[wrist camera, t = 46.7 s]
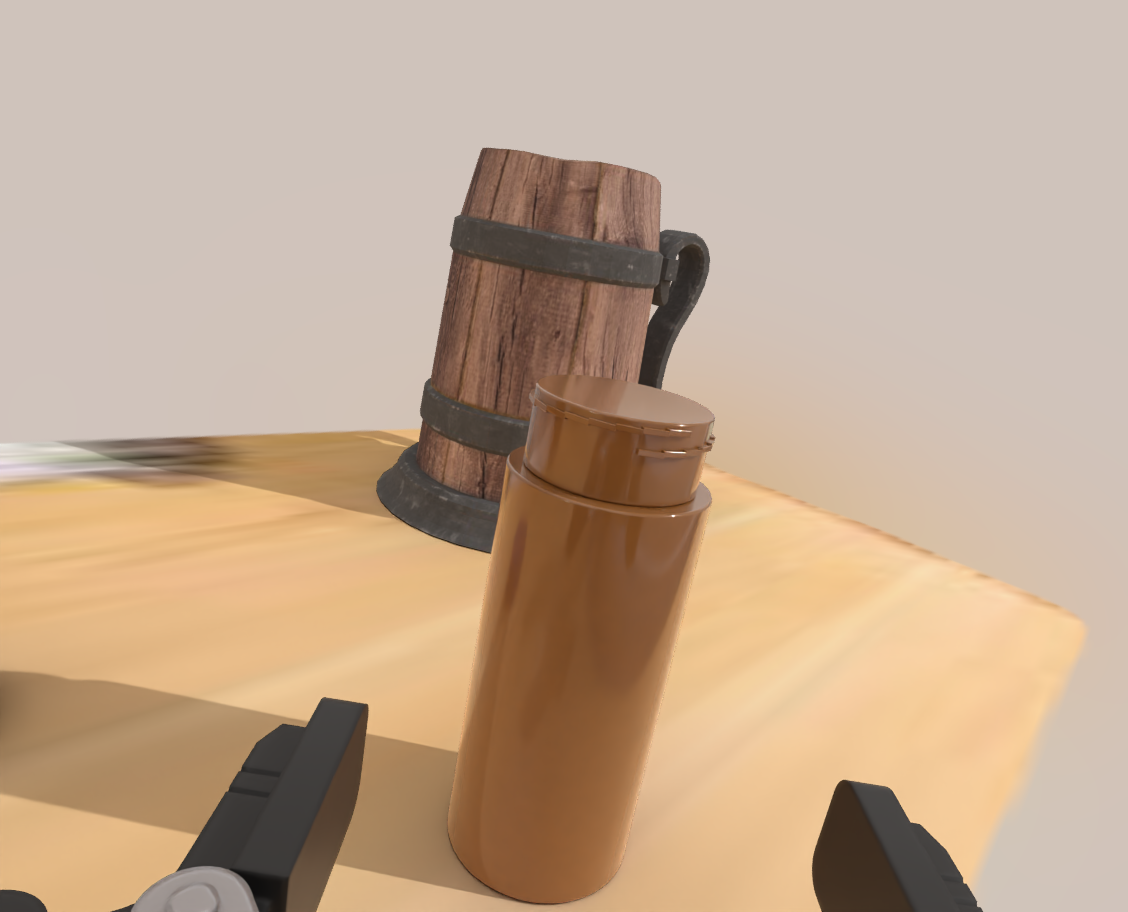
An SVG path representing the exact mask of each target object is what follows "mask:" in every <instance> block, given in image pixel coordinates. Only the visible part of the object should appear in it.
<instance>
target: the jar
mask: <svg viewBox="0 0 1128 912" xmlns="http://www.w3.org/2000/svg"><path fill="white" fill-rule="evenodd" d="M529 400H530V401H531V402H532V409H531V415H530V421H529V426H528V432H527V438H526V444H525V446H522V447H519V448H517V449H515V450H513V451H512V452H511V453H510V454H509V456H508V457H507V460H506V466H505V472H504V478H503V484H502V490H501V496H500V502H499V508H498V514H497V520H496V527H495V533H494V539H493V545H492V551H491V557H490V563H489V569H488V575H487V581H486V587H485V593H484V599H483V605H482V611H481V617H480V624H479V630H478V636H477V642H476V648H475V654H474V660H473V666H472V672H471V678H470V684H469V690H468V696H467V702H466V708H465V714H464V721H463V727H462V733H461V739H460V745H459V751H458V757H457V763H456V769H455V775H454V781H453V787H452V793H451V799H450V805H449V811H448V819H447V826H448V834H449V839H450V841H451V844H452V847H453V849H454V851H455V853H456V855H457V856H458V858H459V860H460V861H461V862H462V864H463V865H464V866H465V867H466V868H467V869H468V870H469V871H470V872H471V873H472V874H473V875H474V876H475V877H476V878H477V879H479V880H480V881H481V882H482V883H484V884H485V885H487V886H489V887H490V888H492V889H494V890H496V891H498V892H500V893H502V894H504V895H507V896H510V897H513V898H516V899H519V900H523V901H528V902H534V903H544V904H547V903H564V902H570V901H574V900H578V899H581V898H584V897H586V896H588V895H591V894H592V893H594V892H596V891H598V890H599V889H601V888H602V887H603V886H604V885H606V884H607V883H608V882H609V881H610V880H611V878H612V877H613V876H614V875H615V874H616V872H617V870H618V869H619V867H620V865H621V862H622V860H623V856H624V852H625V848H626V844H627V840H628V836H629V832H630V828H631V824H632V820H633V816H634V812H635V808H636V804H637V800H638V796H639V792H640V788H641V784H642V780H643V776H644V772H645V768H646V764H647V760H648V756H649V752H650V748H651V744H652V740H653V736H654V732H655V728H656V724H657V720H658V716H659V712H660V708H661V704H662V700H663V696H664V692H665V688H666V684H667V680H668V676H669V672H670V668H671V664H672V660H673V656H674V652H675V648H676V644H677V640H678V636H679V632H680V628H681V624H682V620H683V616H684V612H685V608H686V604H687V600H688V596H689V592H690V588H691V584H692V580H693V576H694V572H695V568H696V564H697V560H698V556H699V552H700V548H701V544H702V540H703V536H704V532H705V528H706V524H707V520H708V516H709V512H710V508H711V504H712V497H711V494H710V492H709V490H708V489H707V487H706V486H705V485H704V484H703V483H701V482H700V478H701V474H702V470H703V466H704V462H705V457H706V453H707V452H708V451H711V449H712V446H713V444H714V441H715V437H714V435H713V434H712V428H713V424H714V419H715V417H714V414H713V413H712V412H711V411H710V410H708V409H707V408H706V407H704V406H703V405H701V404H699V403H697V402H695V401H692V400H690V399H688V398H685V397H683V396H680V395H677V394H674V393H671V392H668V391H664V390H661V389H657V388H653V387H650V386H645V385H641V384H637V383H632V382H627V381H622V380H616V379H610V378H603V377H595V376H585V375H552V376H546V377H543V378H540V379H539V380H538V381H537V383H536V386H535V388H534V389H531V391H530V394H529Z"/></svg>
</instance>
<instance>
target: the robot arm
mask: <svg viewBox="0 0 1128 912" xmlns="http://www.w3.org/2000/svg"><path fill="white" fill-rule="evenodd" d="M367 721H368V704H363V703H357V702H350V701H344V700H338V699H332V698H326V697H324V698H322V699H321V701H320V703H319V704H318V706H317V708H316V710H315V712H314V714H313V715H312V717H311V719H310V721H309V723H308V725H307V726H306V727H300V726H294V725H287V724H282V725H280V726H279V727H278V728H276V729H275V730H273V731H272V732H271V733H269V734H268V735H267V736H265V737H264V738H262V739H261V740H260V741H258V742H257V743H256V745H255V746H254V748H253V750H252V751H251V753H250V754H249V756H248V758H247V759H246V761H245V762H244V764H243V766H242V769H241V771H239V772H238V774H237V775H236V777H235V779H234V780H233V782H232V783H231V785H230V787H229V791H228V792H226V793H225V795H224V796H223V798H222V799H221V801H220V803H219V804H218V806H217V807H216V809H215V811H214V812H213V814H212V816H211V817H210V819H209V820H208V822H207V824H206V825H205V827H204V828H203V830H202V832H201V833H200V835H199V836H198V838H197V840H196V841H195V843H194V844H193V846H192V848H191V849H190V851H189V852H188V854H187V856H186V857H185V859H184V861H183V862H182V864H181V865H180V867H179V868H178V870H177V871H176V872H175V873H173V874H170V875H168V876H166V877H165V878H163V879H161V880H159V881H158V882H156V883H155V884H153V885H152V886H151V887H150V888H149V889H147V890H146V891H145V892H144V893H143V894H142V895H141V897H140V898H139V899H138V900H137V901H136V903H135V904H132V905H130V906H127V907H125V908H122V909H118V910H115V911H112V912H316V910H317V908H318V905H319V903H320V900H321V897H322V895H323V892H324V889H325V887H326V884H327V882H328V879H329V876H330V874H331V871H332V868H333V866H334V863H335V861H336V858H337V855H338V853H339V850H340V847H341V845H342V842H343V840H344V837H345V834H346V832H347V829H348V826H349V824H350V821H351V818H352V815H353V811H354V808H355V804H356V800H357V795H358V790H359V785H360V778H361V770H362V762H363V754H364V745H365V737H366V729H367ZM812 877H813V885H814V890H815V894H816V897H817V899H818V902H819V905H820V908H821V911H822V912H983V911H982V909H981V908H980V907H977V901H976V899H975V897H974V896H973V894H972V892H971V891H970V889H969V887H968V886H967V884H964V883H963V877H962V876H961V874H960V872H959V871H958V869H957V867H956V866H955V864H954V862H953V861H952V859H951V857H950V856H949V854H948V852H947V850H946V849H945V848H944V847H943V846H942V845H940V844H939V843H938V842H937V841H936V840H935V839H934V838H933V837H932V836H931V835H930V834H929V833H928V832H927V831H926V830H925V829H924V828H923V827H922V826H921V825H920V824H916V823H910V821H909V819H908V817H907V816H906V814H905V812H904V810H903V809H902V807H901V805H900V803H899V801H898V800H897V798H896V796H895V794H894V793H893V791H892V790H891V789H890V788H888V787H885V786H879V785H873V784H867V783H860V782H854V781H848V780H842V781H840V782H839V783H838V785H837V786H836V789H835V791H834V794H833V797H832V800H831V803H830V806H829V809H828V812H827V815H826V818H825V821H824V824H823V827H822V830H821V833H820V836H819V839H818V842H817V845H816V848H815V851H814V856H813V863H812ZM0 912H47V910H46V907H45V905H44V904H43V903H42V902H41V901H40V900H39V899H38V898H36V897H35V896H33V895H31V894H28V893H26V892H22V891H17V890H0Z"/></svg>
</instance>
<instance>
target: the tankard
mask: <svg viewBox="0 0 1128 912" xmlns="http://www.w3.org/2000/svg"><path fill="white" fill-rule="evenodd" d="M660 204H661V184H660V182H659V181H658V180H657V178H656V177H654V176H652V175H650V174H648V173H644V172H641V171H637V170H634V169H630V168H626V167H622V166H618V165H613V164H608V163H602V162H596V161H578V160H563V159H559V158H553V157H548V156H543V155H539V154H534V153H530V152H525V151H517V150H509V149H495V148H483V149H482V150H481V152H480V156H479V159H478V162H477V165H476V168H475V171H474V174H473V177H472V180H471V184H470V187H469V190H468V193H467V196H466V199H465V202H464V205H463V208H462V212H461V215H459V216H457V217H455V220H454V225H453V231H452V237H451V243H450V246H451V247H452V249H453V255H452V261H451V266H450V272H449V278H448V284H447V289H446V296H445V301H444V307H443V312H442V318H441V324H440V329H439V335H438V341H437V347H436V352H435V358H434V364H433V370H432V375H431V378H430V379H428V380H427V381H426V383H425V386H424V391H423V397H422V403H421V408H420V414H421V417H422V418H423V421H422V427H421V432H420V438H419V442H417V443H416V444H414V445H412V446H411V447H409V448H408V449H406V450H405V451H404V452H403V453H402V455H401V456H400V457H399V459H398V461H397V463H396V464H395V465H394V466H393V467H392V468H391V469H389V470H387V471H386V472H384V473H383V475H382V476H381V477H380V479H379V480H378V482H377V493H378V495H379V498H380V500H381V502H382V503H383V504H384V505H385V506H386V507H387V508H388V509H389V510H390V511H391V512H392V513H393V514H394V515H396V516H397V517H399V518H400V519H402V520H403V521H405V522H406V523H408V524H409V525H411V526H414V527H416V528H418V529H420V530H422V531H424V532H426V533H428V534H430V535H433V536H435V537H438V538H441V539H444V540H447V541H450V542H453V543H455V544H458V545H462V546H466V547H470V548H474V549H478V550H482V551H486V552H490V553H491V551H492V545H493V539H494V533H495V527H496V520H497V514H498V508H499V502H500V496H501V490H502V484H503V478H504V472H505V466H506V460H507V457H508V456H509V454H510V453H511V452H512V451H513V450H515V449H517V448H519V447H522V446H525V444H526V438H527V432H528V426H529V421H530V415H531V409H532V402H531V401H530V400H529V394H530V391H531V389H534V388H535V386H536V383H537V381H538V380H539V379H540V378H543V377H546V376H552V375H585V376H595V377H603V378H610V379H616V380H622V381H627V382H632V383H637V384H641V385H645V386H650V387H653V388H657V389H661V387H662V381H663V377H664V372H665V368H666V364H667V361H668V358H669V355H670V352H671V349H672V347H673V344H674V342H675V340H676V338H677V336H678V334H679V332H680V330H681V328H682V327H683V325H684V323H685V322H686V320H687V318H688V317H689V315H690V313H691V312H692V310H693V308H694V307H695V305H696V303H697V301H698V299H699V297H700V295H701V292H702V290H703V288H704V286H705V282H706V279H707V276H708V272H709V263H710V257H709V251H708V248H707V246H706V244H705V242H704V240H703V239H702V238H700V237H699V236H698V235H697V234H694V233H687V232H681V231H675V230H664V231H662V232H660ZM677 254H678V255H679V259H678V260H676V256H677ZM671 281H672V283H671V285H670V282H671ZM651 304H654V305H657V306H659V307H658V309H657V310H656V312H655V314H654V315H653V317H652V319H651V320H650V322H649V324H648V321H649V315H650V309H651Z"/></svg>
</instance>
